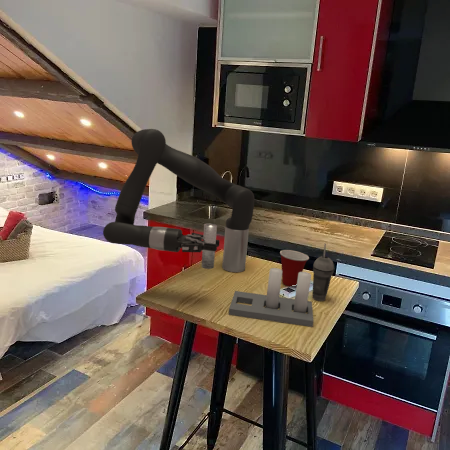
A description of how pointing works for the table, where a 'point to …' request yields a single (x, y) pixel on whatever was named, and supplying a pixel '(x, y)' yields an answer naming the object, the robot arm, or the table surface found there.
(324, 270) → the beverage cup
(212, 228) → the steel pin
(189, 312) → the table surface
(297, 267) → the plastic cup
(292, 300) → the pin board
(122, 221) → the robot arm
